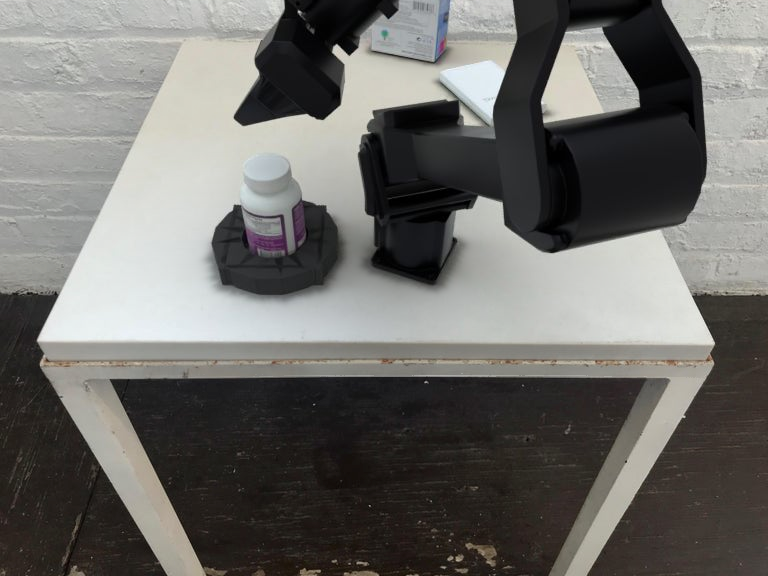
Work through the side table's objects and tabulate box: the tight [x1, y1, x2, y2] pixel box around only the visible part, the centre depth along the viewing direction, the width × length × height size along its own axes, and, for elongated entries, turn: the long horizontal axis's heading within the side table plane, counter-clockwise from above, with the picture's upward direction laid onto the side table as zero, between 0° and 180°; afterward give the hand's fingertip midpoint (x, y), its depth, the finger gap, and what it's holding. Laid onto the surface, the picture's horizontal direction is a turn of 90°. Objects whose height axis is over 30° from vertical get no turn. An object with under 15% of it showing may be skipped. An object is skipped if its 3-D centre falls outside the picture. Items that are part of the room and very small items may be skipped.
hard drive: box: [439, 59, 548, 126], centre depth 79 cm, size 2×8×12 cm
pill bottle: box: [239, 152, 307, 257], centre depth 55 cm, size 5×5×10 cm
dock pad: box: [210, 199, 339, 295], centre depth 58 cm, size 11×11×2 cm
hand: (249, 91), depth 52 cm, fingers open, 9 cm apart
